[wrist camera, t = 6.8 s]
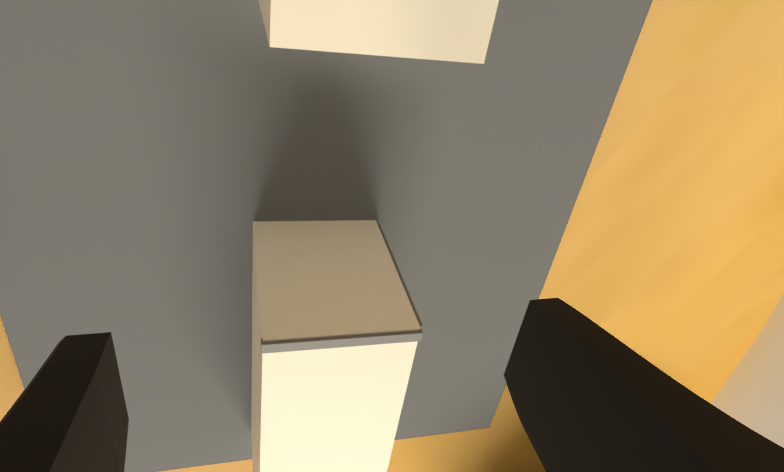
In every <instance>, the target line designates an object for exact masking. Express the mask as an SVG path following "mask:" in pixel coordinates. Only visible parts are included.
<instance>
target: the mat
mask: <svg viewBox="0 0 784 472" xmlns="http://www.w3.org/2000/svg"><path fill="white" fill-rule="evenodd" d="M652 1H653V0H499V2H498V7H497V11H496V15H495V19H494V23H493V28H492V32H491V36H490V40H489V44H488V49H487V53H486V57H485V61H484V64H478V63H466V62H453V61H440V60H427V59H415V58H402V57H389V56H377V55H364V54H351V53H339V52H326V51H313V50H301V49H288V48H275V47H270V46H269V42H268V38H267V34H266V30H265V26H264V22H263V17H262V13H261V9H260V5H259V1H258V0H0V315H1V318H2V321H3V324H4V328H5V331H6V334H7V337H8V340H9V343H10V346H11V349H12V352H13V355H14V358H15V361H16V364H17V367H18V370H19V373H20V376H21V379H22V382H23V385H24V389H26V387H27V386H28V385H29V383H30V382H31V381H32V379H33V378H34V376H35V375H36V374H37V372H38V371H39V369H40V368H41V367H42V365H43V364H44V362H45V361H46V360H47V358H48V357H49V355H50V354H51V353H52V351H53V350H54V348H55V347H56V346H57V344H58V343H59V341H61V340H62V339H63V338H64V337H65V336H67V335H80V334H93V333H106V332H111V334H112V339H113V344H114V349H115V354H116V359H117V364H118V369H119V374H120V378H121V383H122V388H123V393H124V398H125V403H126V408H127V413H128V418H129V423H128V435H127V447H126V458H125V468H124V472H157V471H165V470H172V469H180V468H188V467H195V466H203V465H210V464H218V463H225V462H233V461H240V460H248V459H252V439H251V385H252V265H253V221H338V220H376V222H377V224H380V225H381V228H382V230H383V232H384V235H385V237H386V239H387V242H388V244H389V247H390V249H391V251H392V254H393V256H394V258H395V261H396V263H397V266H398V268H399V270H400V273H401V275H402V277H403V280H404V282H405V284H406V287H407V289H408V292H409V294H410V296H411V299H412V301H413V303H414V306H415V308H416V311H417V313H418V315H419V318H420V320H421V322H422V325H423V328H422V331H423V336H422V340H421V341H418V343H417V347H416V351H415V355H414V359H413V364H412V368H411V372H410V376H409V381H408V385H407V389H406V393H405V397H404V402H403V406H402V410H401V414H400V418H399V423H398V427H397V431H396V435H395V439H394V440H399V439H407V438H414V437H422V436H429V435H437V434H444V433H452V432H459V431H467V430H474V429H482V428H489V427H490V424H491V422H492V419H493V416H494V414H495V411H496V408H497V406H498V403H499V401H500V398H501V395H502V393H503V390H504V388H505V385H506V380H505V377H504V372H505V369H506V367H507V364H508V361H509V358H510V355H511V352H512V350H513V347H514V344H515V341H516V338H517V335H518V333H519V330H520V327H521V324H522V321H523V318H524V315H525V313H526V310H527V307H528V304H529V301H530V300H537V299H539V296H540V293H541V291H542V288H543V286H544V283H545V280H546V278H547V275H548V272H549V270H550V267H551V265H552V262H553V259H554V257H555V254H556V252H557V249H558V246H559V244H560V241H561V238H562V236H563V233H564V231H565V228H566V225H567V223H568V220H569V218H570V215H571V212H572V210H573V207H574V204H575V202H576V199H577V197H578V194H579V191H580V189H581V186H582V184H583V181H584V178H585V176H586V173H587V171H588V168H589V165H590V163H591V160H592V157H593V155H594V152H595V150H596V147H597V144H598V142H599V139H600V137H601V134H602V131H603V129H604V126H605V123H606V121H607V118H608V116H609V113H610V110H611V108H612V105H613V103H614V100H615V97H616V95H617V92H618V89H619V87H620V84H621V82H622V79H623V76H624V74H625V71H626V69H627V66H628V63H629V61H630V58H631V55H632V53H633V50H634V48H635V45H636V42H637V40H638V37H639V35H640V32H641V29H642V27H643V24H644V21H645V19H646V16H647V14H648V11H649V8H650V6H651V3H652Z"/></svg>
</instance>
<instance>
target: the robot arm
mask: <svg viewBox="0 0 784 472" xmlns="http://www.w3.org/2000/svg"><path fill="white" fill-rule="evenodd" d="M504 377H505V380H506V383H507V386H508V389H509V392H510V394H511V397H512V400H513V403H514V405H515V408H516V410H517V413H518V416H519V418H520V421H521V423H522V425H523V427H524V429H525V431H526V433H527V435H528V437H529V439H530V441H531V443H532V445H533V447H534V449H535V451H536V453H537V455H538V457H539V458H540V460H541V462H542V464H543V466H544V468H545V470H546V472H784V448H782V447H780V446H779V445H777V444H775V443H774V442H772V441H770V440H768V439H767V438H765V437H763V436H762V435H760V434H758V433H756V432H755V431H753V430H751V429H749V428H748V427H746V426H745V425H743V424H741V423H740V422H738V421H736V420H735V419H733V418H732V417H730V416H729V415H727V414H726V413H724V412H722V411H721V410H719V409H718V408H716V407H715V406H713V405H712V404H710V403H709V402H707V401H706V400H704V399H702V398H701V397H699V396H698V395H696V394H695V393H693V392H692V391H690V390H689V389H687V388H686V387H684V386H683V385H681V384H680V383H679V382H677V381H676V380H674V379H673V378H671V377H670V376H668V375H667V374H666V373H664V372H663V371H661V370H660V369H658V368H657V367H656V366H654V365H653V364H651V363H650V362H648V361H647V360H646V359H644V358H643V357H641V356H640V355H639V354H637V353H636V352H634V351H633V350H632V349H630V348H629V347H628V346H626V345H625V344H623V343H622V342H621V341H619V340H618V339H616V338H615V337H614V336H612V335H611V334H610V333H608V332H607V331H605V330H604V329H603V328H601V327H600V326H598V325H597V324H596V323H594V322H593V321H591V320H590V319H589V318H587V317H586V316H584V315H583V314H582V313H580V312H579V311H577V310H576V309H574V308H573V307H571V306H570V305H568V304H567V303H565V302H564V301H562V300H561V299H559V298H550V299H537V300H530V301H529V304H528V307H527V310H526V313H525V315H524V318H523V321H522V324H521V327H520V330H519V333H518V335H517V338H516V341H515V344H514V347H513V350H512V352H511V355H510V358H509V361H508V364H507V367H506V369H505V372H504ZM128 423H129V418H128V413H127V408H126V403H125V398H124V393H123V388H122V383H121V378H120V374H119V369H118V364H117V359H116V354H115V349H114V344H113V339H112V334H111V332H106V333H93V334H80V335H67V336H65V337H64V338H63V339H62V340H61V341H59V343H58V344H57V346H56V347H55V348H54V350H53V351H52V353H51V354H50V355H49V357H48V358H47V360H46V361H45V362H44V364H43V365H42V367H41V368H40V369H39V371H38V372H37V374H36V375H35V376H34V378H33V379H32V381H31V382H30V383H29V385H28V386H27V387H26V389H25V390H24V391H23V393H22V394H21V395H20V397H19V398H18V399H17V401H16V402H15V403H14V405H13V406H12V407H11V409H10V410H9V411H8V412H7V414H6V415H5V416H4V418H3V419H2V420H1V422H0V472H124V468H125V458H126V447H127V435H128Z"/></svg>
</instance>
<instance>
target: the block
mask: <svg viewBox="0 0 784 472" xmlns="http://www.w3.org/2000/svg"><path fill="white" fill-rule="evenodd" d="M258 1H259V5H260V9H261V13H262V17H263V22H264V26H265V30H266V34H267V38H268V42H269V46H270V47H275V48H288V49H301V50H313V51H326V52H339V53H351V54H364V55H377V56H389V57H402V58H415V59H427V60H440V61H453V62H466V63H478V64H484V61H485V57H486V53H487V49H488V44H489V40H490V36H491V32H492V28H493V23H494V19H495V15H496V11H497V7H498V2H499V0H258Z"/></svg>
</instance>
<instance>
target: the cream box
mask: <svg viewBox="0 0 784 472" xmlns="http://www.w3.org/2000/svg"><path fill="white" fill-rule="evenodd" d="M422 328H423V325H422V322H421V320H420V318H419V315H418V313H417V311H416V308H415V306H414V303H413V301H412V299H411V296H410V294H409V292H408V289H407V287H406V284H405V282H404V280H403V277H402V275H401V273H400V270H399V268H398V266H397V263H396V261H395V258H394V256H393V254H392V251H391V249H390V247H389V244H388V242H387V239H386V237H385V235H384V232H383V230H382V228H381V225H380V224H377V222H376V220H338V221H253V265H252V385H251V439H252V459H253V472H387V469H388V465H389V460H390V456H391V452H392V448H393V444H394V439H395V435H396V431H397V427H398V423H399V418H400V414H401V410H402V406H403V402H404V397H405V393H406V389H407V385H408V381H409V376H410V372H411V368H412V364H413V359H414V355H415V351H416V347H417V343H418V341H421V340H422V336H423V331H422Z"/></svg>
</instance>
